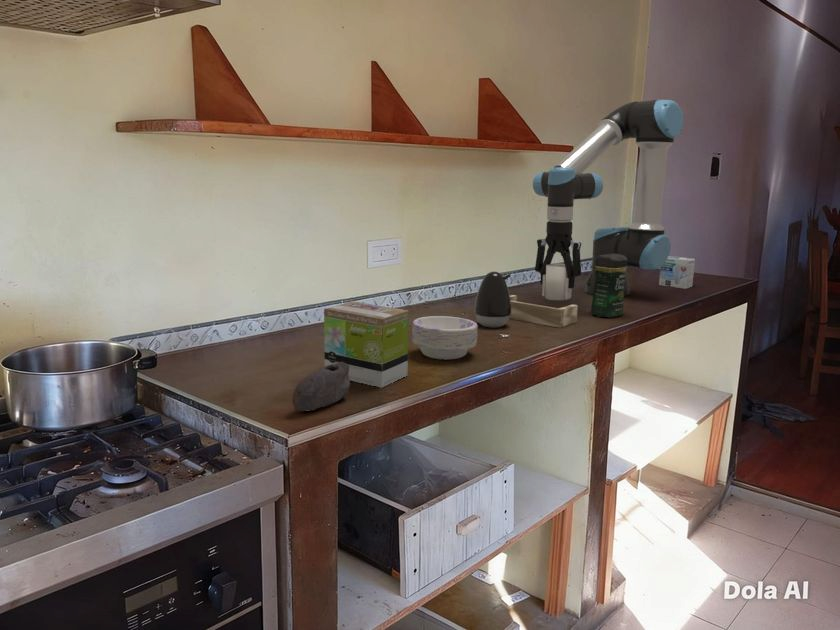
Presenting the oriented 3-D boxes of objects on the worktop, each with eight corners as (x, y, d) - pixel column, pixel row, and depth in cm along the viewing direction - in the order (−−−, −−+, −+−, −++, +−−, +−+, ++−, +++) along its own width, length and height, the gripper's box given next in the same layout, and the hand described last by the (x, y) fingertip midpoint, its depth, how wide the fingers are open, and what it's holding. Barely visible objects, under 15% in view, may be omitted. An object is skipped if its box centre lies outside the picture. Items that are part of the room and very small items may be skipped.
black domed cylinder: (518, 327, 194) (521, 273, 190) (487, 331, 189) (489, 275, 185) (497, 320, 202) (499, 267, 199) (466, 323, 197) (468, 270, 194)
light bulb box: (658, 285, 266) (660, 257, 264) (665, 283, 271) (667, 255, 269) (686, 289, 260) (689, 260, 257) (692, 286, 265) (695, 258, 262)
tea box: (322, 376, 147) (321, 307, 144) (351, 365, 155) (351, 299, 152) (382, 389, 139) (382, 316, 136) (409, 377, 147) (410, 308, 144)
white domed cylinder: (552, 294, 217) (553, 262, 215) (572, 297, 213) (574, 264, 211) (540, 298, 212) (541, 265, 210) (561, 301, 208) (562, 268, 205)
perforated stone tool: (304, 420, 122) (303, 382, 121) (282, 414, 125) (281, 376, 123) (358, 397, 134) (358, 362, 133) (337, 392, 137) (337, 358, 136)
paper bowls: (489, 355, 165) (491, 322, 163) (444, 367, 155) (445, 332, 153) (443, 343, 176) (444, 312, 174) (398, 353, 165) (398, 320, 164)
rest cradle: (511, 310, 215) (512, 294, 214) (576, 322, 201) (577, 305, 200) (494, 315, 208) (494, 299, 207) (560, 327, 194) (561, 310, 193)
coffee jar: (608, 319, 206) (613, 256, 202) (586, 314, 211) (590, 253, 207) (627, 315, 212) (632, 254, 208) (605, 311, 218) (610, 251, 214)
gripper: (524, 219, 211) (521, 294, 216) (584, 224, 198) (580, 303, 203) (537, 217, 216) (534, 291, 221) (596, 221, 204) (592, 299, 209)
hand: (556, 296), depth 212 cm, fingers closed on white domed cylinder, 7 cm apart
